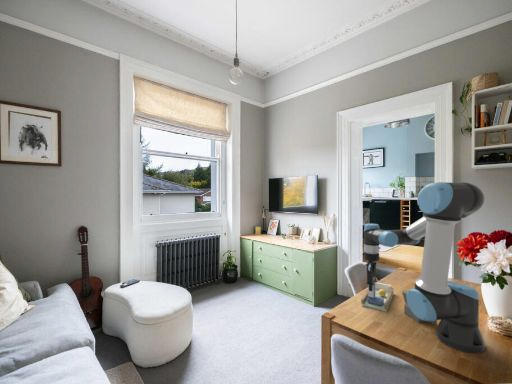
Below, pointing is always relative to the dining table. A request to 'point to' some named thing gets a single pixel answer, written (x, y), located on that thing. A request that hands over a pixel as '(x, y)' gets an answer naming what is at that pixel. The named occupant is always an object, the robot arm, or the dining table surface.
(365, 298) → the pitch
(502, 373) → the dining table surface
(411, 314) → the digital clock
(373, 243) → the robot arm
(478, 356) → the dining table surface
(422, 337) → the dining table surface
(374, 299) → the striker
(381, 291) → the ball
